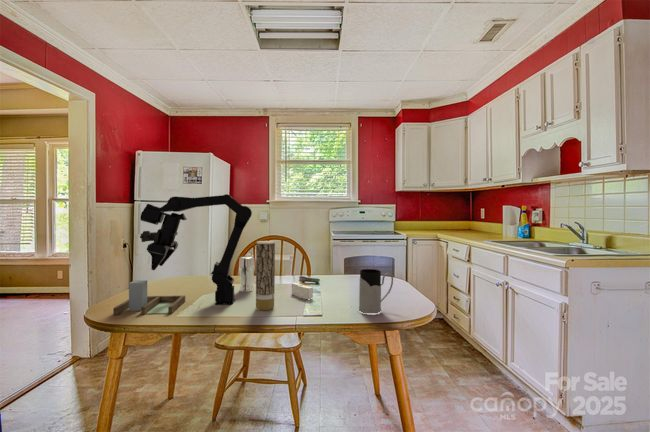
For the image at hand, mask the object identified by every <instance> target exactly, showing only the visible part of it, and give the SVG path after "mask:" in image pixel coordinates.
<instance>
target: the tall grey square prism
mask: <svg viewBox="0 0 650 432" xmlns="http://www.w3.org/2000/svg"><path fill="white" fill-rule="evenodd" d="M147 296H148V279H146V280H145V279H144V280H143V279H141V280H135V279H134V280H133V281H131V282H129V283H128V299H129V308H128V312H136V311H138V310H141V307H143V306H144V305H146V304H147Z"/></svg>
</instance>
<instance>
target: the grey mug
mask: <svg viewBox="0 0 650 432" xmlns="http://www.w3.org/2000/svg"><path fill="white" fill-rule="evenodd" d="M359 274H360V275H359V276H360V277H359V289H358V290H359V296H358V298H359V299H358V301H359V302H358V304H359V305H358V309H359V311H361V312H363V313H378V312H380V311H382V306H381V305H382V302H383V301H384V300H385V299H386V298H387V297H388V295H389V294H390V293H391V290H392V289H393V284H394V276H393V274H391V272H390V273H389V272H386V273H384V275H383V276H382V275H381V274H382V271H381V270H379V269H373V268H372V269H371V268H365V269H360V271H359ZM387 275H390V277H391V280H390V281H391V282H390V287H389V289H388V291H387V292H386V294H385V295H384V296H383V297H382V286H383V285H384V283H385V277H386V276H387ZM381 276H382V277H381ZM381 279H382V280H381Z"/></svg>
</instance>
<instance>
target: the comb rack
mask: <svg viewBox="0 0 650 432" xmlns="http://www.w3.org/2000/svg"><path fill="white" fill-rule="evenodd" d="M184 303H186V295H183V294H182V295H147V304H146V305H144V306H143V307H141V311H140V312H141V314H140V315H142V316H143V315H162V314H163V315H166V314H167V315H173V314H174V313H175V312H176V311H177V310H178V309H179V308H180V307H181V306H183V305H184ZM126 310H129V298H128V299H127V300H125V301H123V302H121V303H120V304H118V305H116V306H115V307H113V316H118V315H120V314H121V313H123V312H125V311H126Z"/></svg>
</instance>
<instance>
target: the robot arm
mask: <svg viewBox="0 0 650 432" xmlns="http://www.w3.org/2000/svg"><path fill="white" fill-rule="evenodd" d="M223 205H225V206H227V208H229V209H230V210H232V211H233V212H234V213H235V217H234V223H233V229H232V231H231V234H230V237H229V239H228V241H227V245H226V247H225V250H224V252H223V255H222V258H221V260H220V261H219V262H218V261H216V262H215V263H214V265H213V270H212V271H211V273H210V275H211V280H212V282H213V283H214V284H215V285H216V291H214V292H215V293H214V302H215V305H233V304H234V302H235V301H236V298H235V285H234V281H235V278H233V276H231V275H230V270H231V263H232V259H233V258H234V254H235V251H236V249H237V247H238V244H239V241H240V239H241V236H242V234H243V231H244V229H245V228H246V226H247V224H248V222H249V220H250V219H251V217H252V214H253V211H252V209H251V208H250V207H248V206H246V205H242V204H241V203H239V202H238V201H237V200H236V199H234V198H233V197H232V196H231V195H230V194H227V193H225V194H223V195H221V194H220V195H211V196H201V197H186V196H171V197H170V198H169V199H168V200H167V203H165V204H164V205H163V206H161V207H159V206H156V205H153V204H150V203H146V206H145V207H144V208H143V209H142V211H141V214H140V219H139V220H140V221H142V222H145V223H148V224H153V225H156V226H158V225H159V224H161V227H160V228H159V229H157V231H154V232H152V231H150V230H144V231H142V233H140V235H139V238H140V240H141V243H145V242H151V243H149V244H148V245H147V247H146V251H147V252H148V254H150V256H151V265H150V266H151V267H150V270H152V271H155V270H156V269H157V268H158V266H160V267H162V266H163V265H164V264H165V263H166V262H167V261H168V260H169V258H170V257H171V256H172V254H174V253H175V252H176V250H177V249H178V245H179V242H178V241H175V239H176V236H177V235H178V233H179V232H178V229H179V226H180V223H181V221H187V217H186V215H185V213H181V214H179V213H177V212H184V211H188V210H190V209H194V208H195V209H196V208H202V207H210V206H211V207H212V206H213V207H214V206H223ZM168 212H169V213H168ZM170 213H171V214H170Z"/></svg>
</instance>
